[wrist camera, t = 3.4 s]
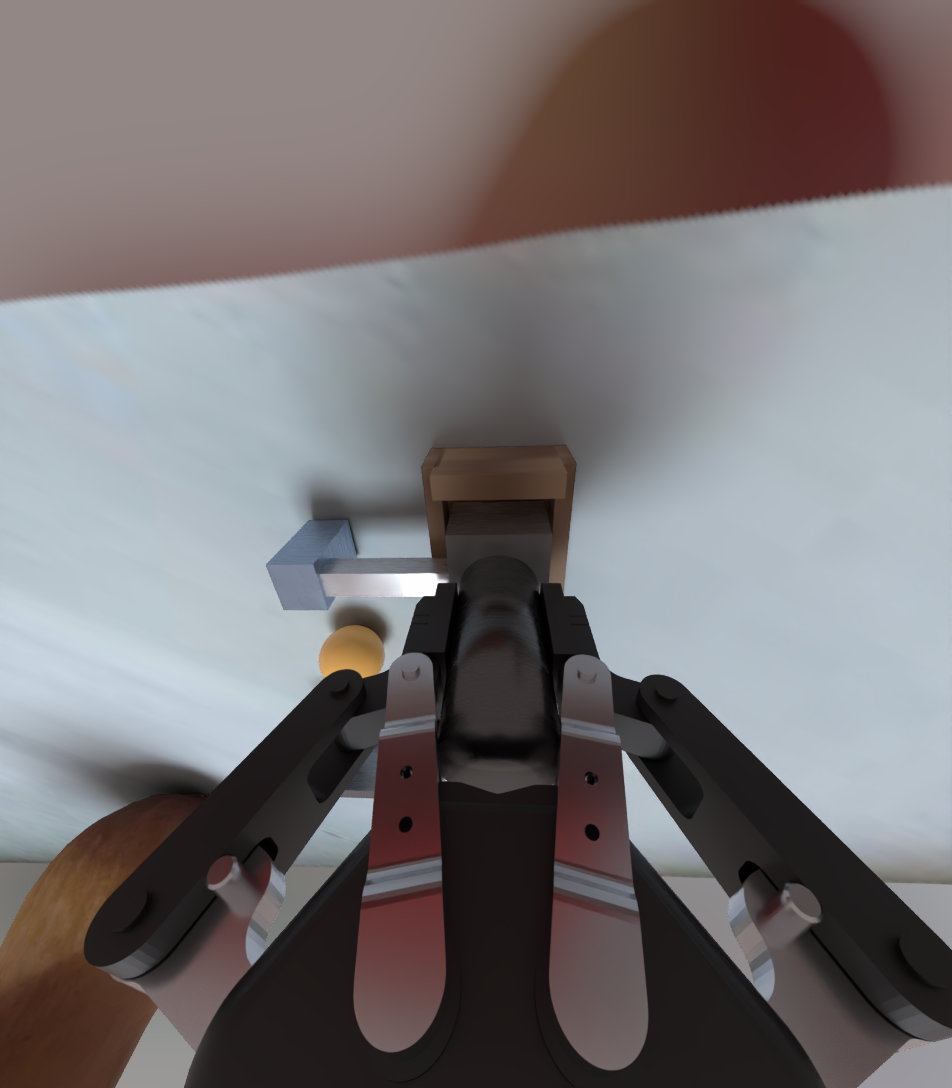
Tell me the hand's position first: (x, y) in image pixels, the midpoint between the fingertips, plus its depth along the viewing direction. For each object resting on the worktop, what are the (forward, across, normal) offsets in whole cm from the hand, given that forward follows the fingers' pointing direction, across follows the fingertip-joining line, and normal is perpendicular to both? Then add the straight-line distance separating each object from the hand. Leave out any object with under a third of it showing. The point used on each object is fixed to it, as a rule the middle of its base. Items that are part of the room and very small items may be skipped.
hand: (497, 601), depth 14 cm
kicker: (+5, +4, 0) cm, 6 cm away
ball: (+5, +8, +7) cm, 12 cm away
